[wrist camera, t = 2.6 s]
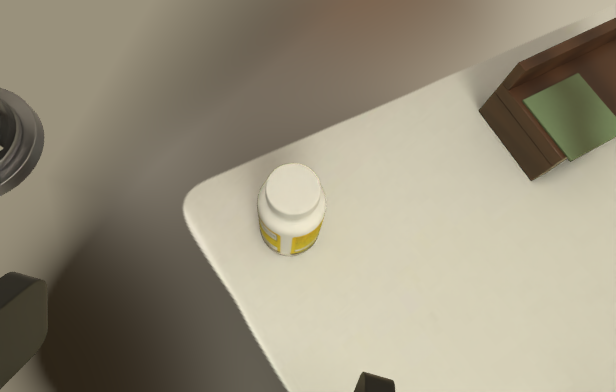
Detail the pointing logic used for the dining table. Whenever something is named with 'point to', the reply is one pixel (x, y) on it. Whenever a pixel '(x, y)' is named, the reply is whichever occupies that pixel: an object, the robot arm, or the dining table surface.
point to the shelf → (558, 101)
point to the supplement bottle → (291, 209)
